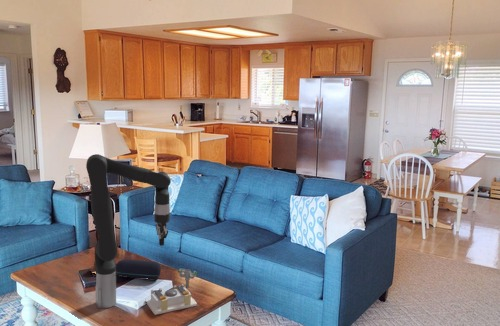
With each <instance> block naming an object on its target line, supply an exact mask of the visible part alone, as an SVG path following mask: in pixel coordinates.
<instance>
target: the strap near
mask: <svg viewBox="0 0 500 326" xmlns="http://www.w3.org/2000/svg"><path fill="white" fill-rule="evenodd" d="M154 293H155V294H156V295H157V296H158V297H159V299H160V300H164V299H166V297H165V295H164V296H163V295H162V293H161V292H160V291H159V289H155V290H154Z"/></svg>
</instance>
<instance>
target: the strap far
mask: <svg viewBox="0 0 500 326" xmlns="http://www.w3.org/2000/svg"><path fill="white" fill-rule="evenodd" d="M176 286H177V289H178V290H179V291H180V292H181V293H182V294H183V295H184V296H185V295H188V294H189V292H190V291H189V290H188V291H189V292H188V291H186V290H185V289H184V288H183V287H182V286H181V285H176Z"/></svg>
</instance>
